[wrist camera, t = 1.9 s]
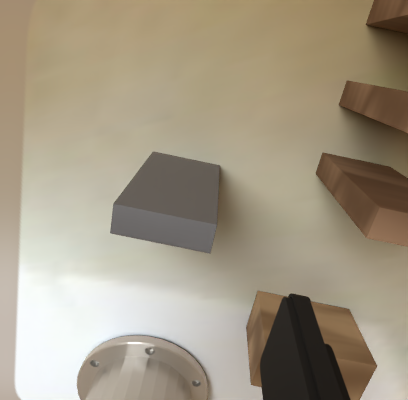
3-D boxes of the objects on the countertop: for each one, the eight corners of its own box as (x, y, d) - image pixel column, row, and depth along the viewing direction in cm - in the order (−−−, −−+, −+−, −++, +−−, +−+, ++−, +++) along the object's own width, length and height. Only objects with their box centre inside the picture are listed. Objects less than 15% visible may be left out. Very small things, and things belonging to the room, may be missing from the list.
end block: (333, 344, 32) (356, 405, 26) (246, 327, 31) (250, 384, 26) (348, 309, 30) (377, 366, 25) (257, 290, 30) (265, 344, 24)
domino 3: (381, 187, 26) (468, 258, 17) (315, 173, 26) (366, 238, 17) (390, 166, 25) (485, 229, 16) (322, 152, 25) (379, 207, 16)
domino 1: (215, 185, 27) (210, 253, 17) (150, 171, 27) (110, 233, 17) (219, 165, 26) (217, 225, 17) (153, 151, 26) (113, 203, 17)
